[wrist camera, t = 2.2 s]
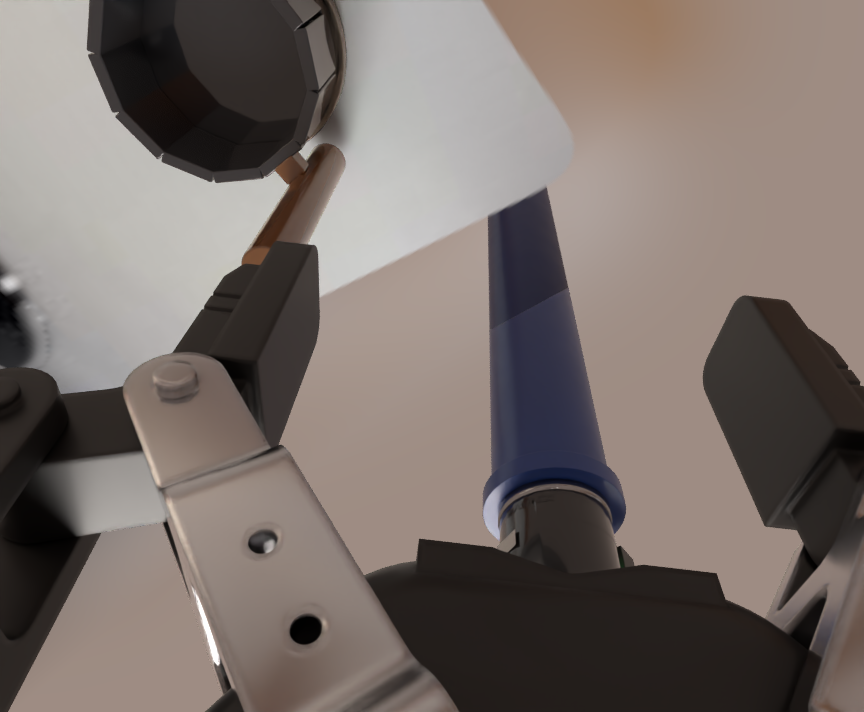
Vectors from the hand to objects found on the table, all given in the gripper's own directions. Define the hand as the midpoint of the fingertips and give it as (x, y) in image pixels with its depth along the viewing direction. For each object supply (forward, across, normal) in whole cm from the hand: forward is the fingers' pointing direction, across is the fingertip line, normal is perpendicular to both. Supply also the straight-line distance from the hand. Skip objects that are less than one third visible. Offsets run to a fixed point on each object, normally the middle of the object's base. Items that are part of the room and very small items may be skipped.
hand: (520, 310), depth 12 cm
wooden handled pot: (+23, -12, -2) cm, 26 cm away
